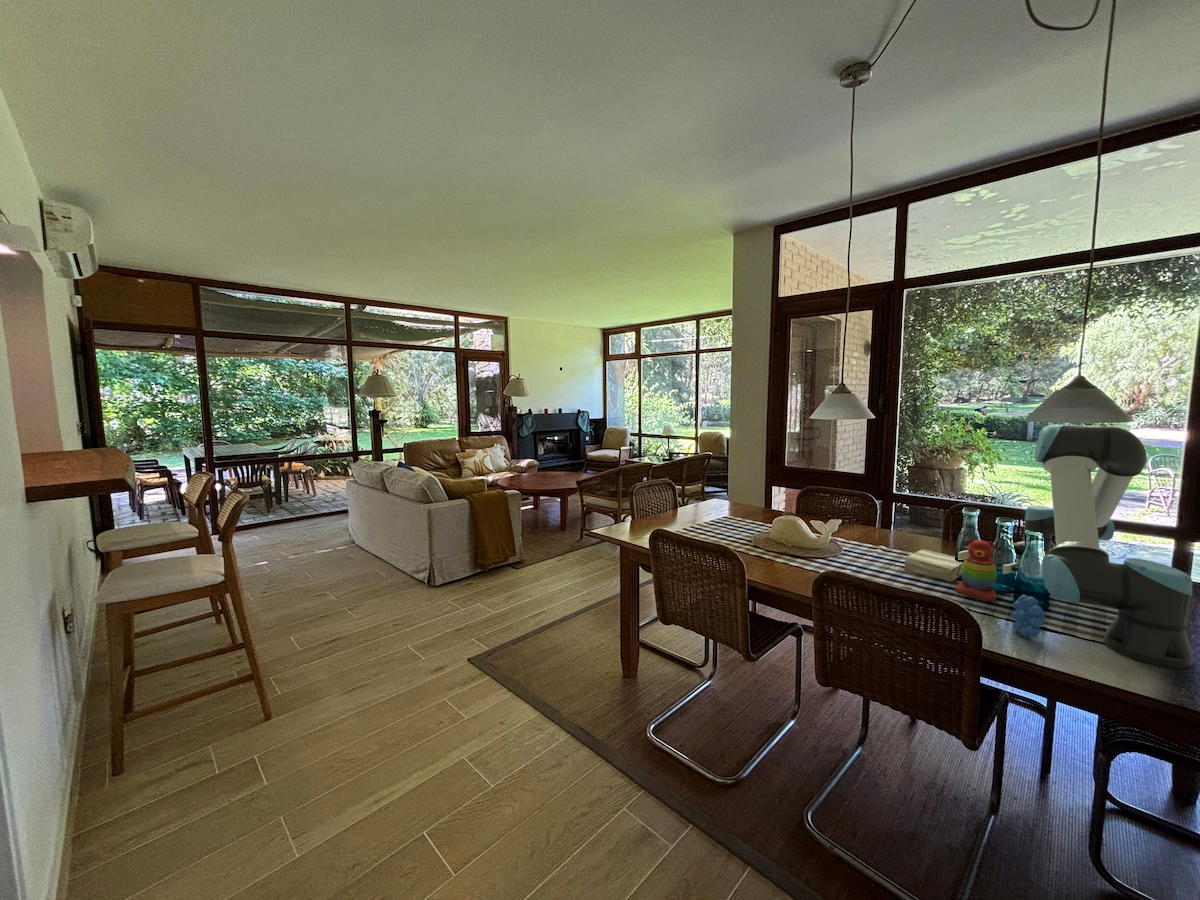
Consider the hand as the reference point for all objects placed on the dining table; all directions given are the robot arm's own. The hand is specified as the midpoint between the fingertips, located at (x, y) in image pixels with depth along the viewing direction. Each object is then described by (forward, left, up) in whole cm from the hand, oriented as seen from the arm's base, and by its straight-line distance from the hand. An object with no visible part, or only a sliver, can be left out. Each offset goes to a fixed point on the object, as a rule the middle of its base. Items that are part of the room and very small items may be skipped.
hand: (980, 562), depth 162 cm
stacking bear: (-1, 0, -10) cm, 10 cm away
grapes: (-24, -19, -10) cm, 33 cm away
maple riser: (+10, +16, -10) cm, 21 cm away
